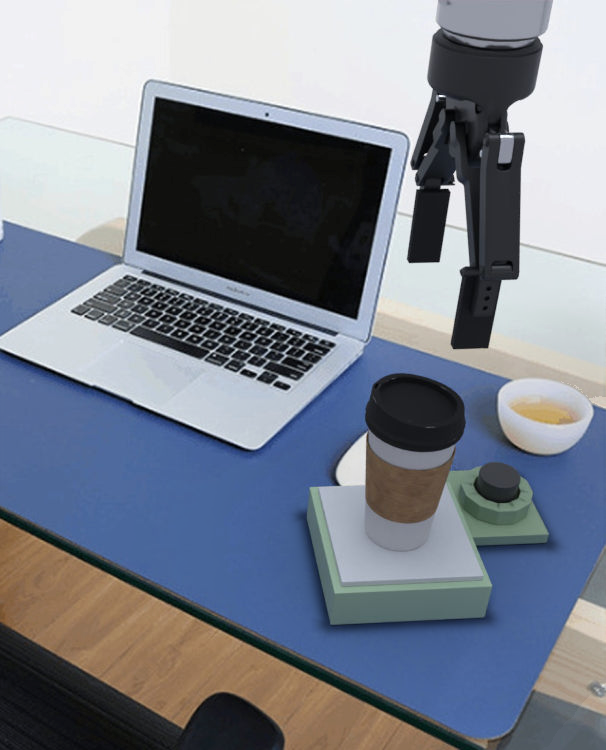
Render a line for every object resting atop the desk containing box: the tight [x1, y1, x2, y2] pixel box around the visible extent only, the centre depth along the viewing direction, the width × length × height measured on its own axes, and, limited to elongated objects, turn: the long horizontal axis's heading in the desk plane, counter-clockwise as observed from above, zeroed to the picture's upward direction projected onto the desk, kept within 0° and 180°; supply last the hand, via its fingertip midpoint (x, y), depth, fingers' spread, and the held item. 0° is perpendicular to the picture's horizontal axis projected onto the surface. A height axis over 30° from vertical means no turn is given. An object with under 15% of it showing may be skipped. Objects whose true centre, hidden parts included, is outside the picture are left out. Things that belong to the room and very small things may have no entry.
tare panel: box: [446, 465, 550, 547], centre depth 101 cm, size 8×10×3 cm
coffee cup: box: [364, 372, 467, 551], centre depth 88 cm, size 8×8×15 cm
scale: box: [306, 482, 493, 626], centre depth 93 cm, size 14×14×5 cm
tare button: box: [476, 461, 521, 503], centre depth 100 cm, size 4×4×2 cm
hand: (444, 301), depth 81 cm, fingers open, 13 cm apart
